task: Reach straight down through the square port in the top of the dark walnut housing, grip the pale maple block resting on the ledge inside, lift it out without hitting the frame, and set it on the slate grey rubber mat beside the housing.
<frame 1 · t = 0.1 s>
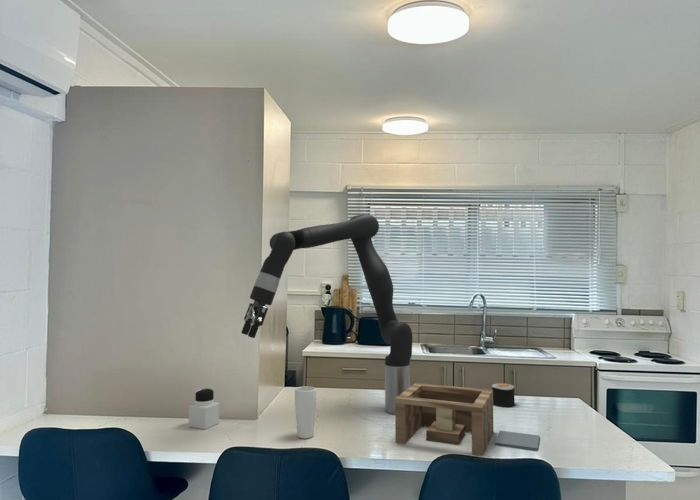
hand: (247, 335, 160), 31 cm above the countertop, tool tilted 20°, fingers open, 8 cm apart
sushi: (503, 405, 193), on the countertop
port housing: (446, 437, 156), on the countertop
medicine bottle: (204, 425, 168), on the countertop
drinking glass: (305, 437, 157), on the countertop
maple block: (445, 427, 156), point 3 cm above the countertop, touching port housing
grey mat: (517, 441, 152), on the countertop
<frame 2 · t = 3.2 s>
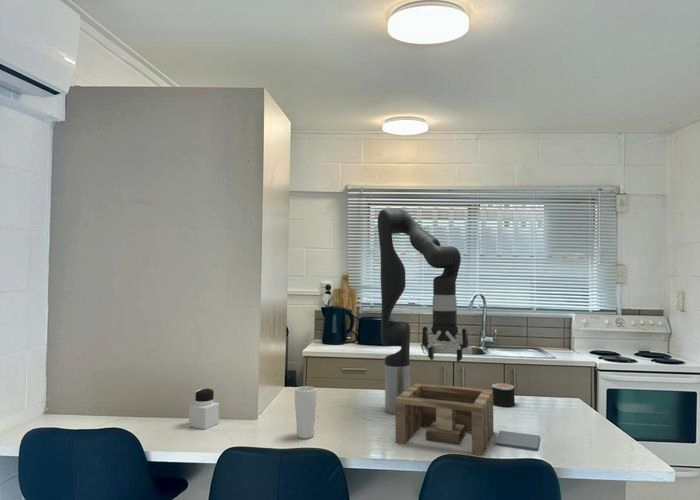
hand: (445, 360, 157), 24 cm above the countertop, tool pointing down, fingers open, 8 cm apart
nothing on the countertop moved.
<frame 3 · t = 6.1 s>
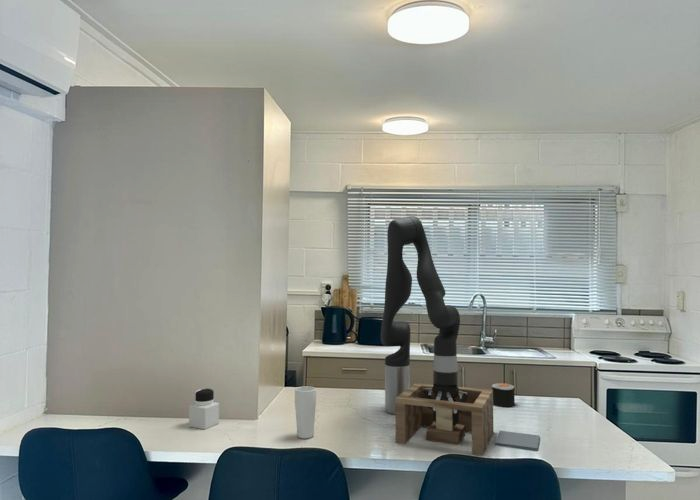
hand: (445, 423, 156), 4 cm above the countertop, tool pointing down, fingers closed on maple block, 5 cm apart
maple block: (445, 427, 156), point 3 cm above the countertop, touching gripper, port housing
everything else where it was.
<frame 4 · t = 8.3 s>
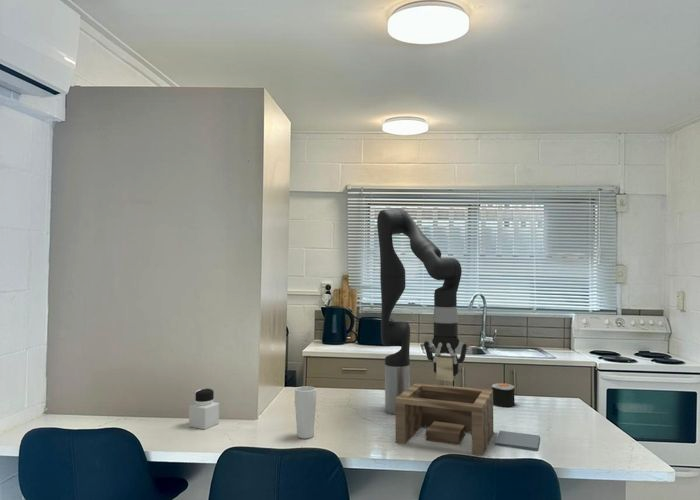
hand: (446, 374, 157), 20 cm above the countertop, tool pointing down, fingers closed on maple block, 5 cm apart
maple block: (446, 379, 157), point 18 cm above the countertop, touching gripper
everything else where it was.
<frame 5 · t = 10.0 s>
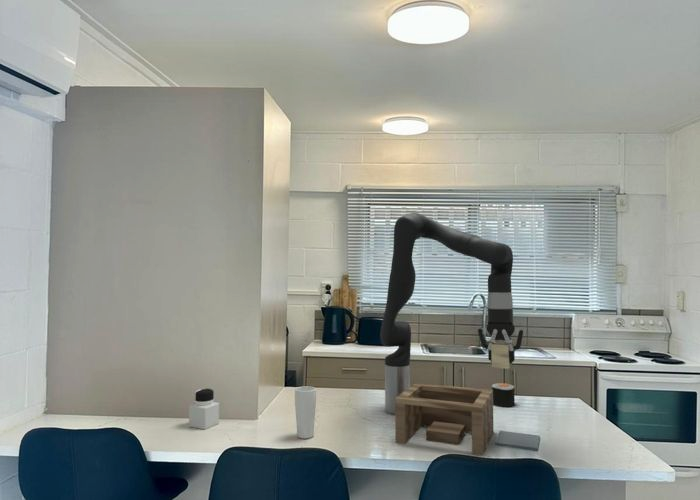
hand: (501, 362, 152), 24 cm above the countertop, tool pointing down, fingers closed on maple block, 5 cm apart
maple block: (501, 366, 152), point 23 cm above the countertop, touching gripper
everything else where it was.
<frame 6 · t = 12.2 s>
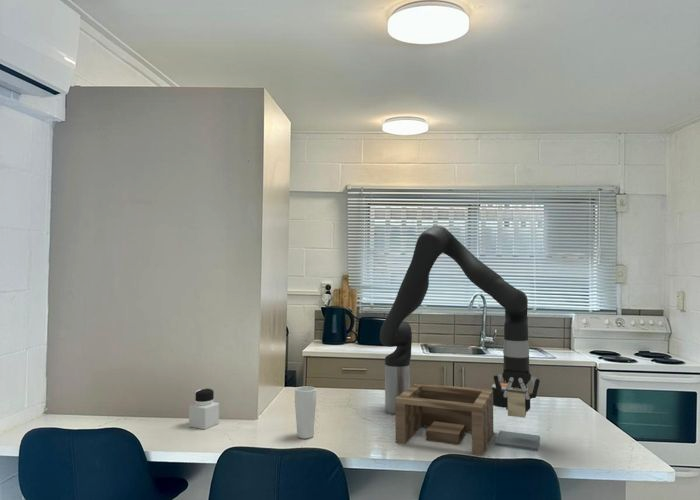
hand: (517, 409, 152), 10 cm above the countertop, tool pointing down, fingers closed on maple block, 5 cm apart
maple block: (517, 414, 152), point 8 cm above the countertop, touching gripper
everything else where it was.
when the fingers open (4 cm above the countertop, at t = 14.2 s): maple block drops 2 cm, resting on grey mat.
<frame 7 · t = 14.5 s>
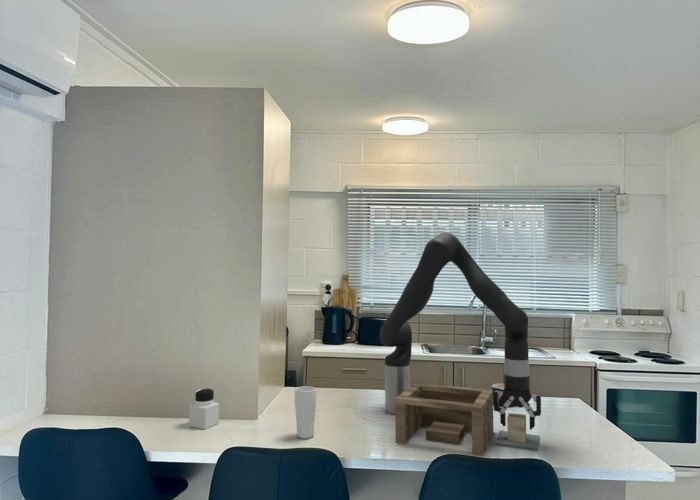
hand: (517, 427, 152), 4 cm above the countertop, tool pointing down, fingers open, 7 cm apart
maple block: (516, 438, 152), point 1 cm above the countertop, touching grey mat
everything else where it was.
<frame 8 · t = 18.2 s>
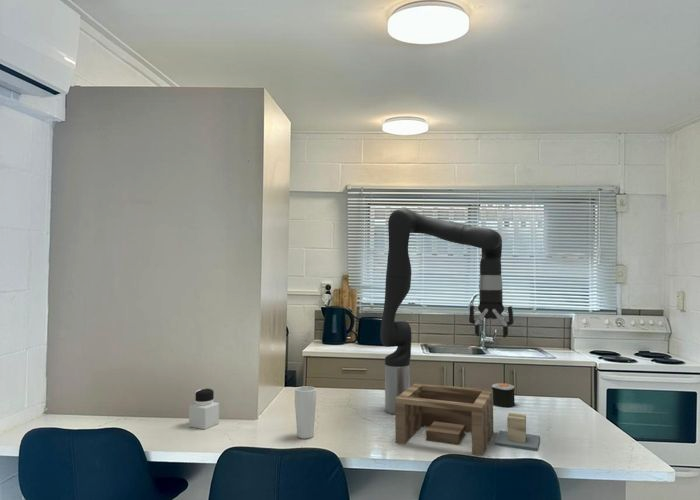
hand: (491, 336, 167), 30 cm above the countertop, tool pointing down, fingers open, 8 cm apart
nothing on the countertop moved.
at the end: maple block inside the target area on the grey mat (0.2 cm from its centre), point 0.8 cm above the grey mat's base; maple block tilted 0°; the gripper is holding nothing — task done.
